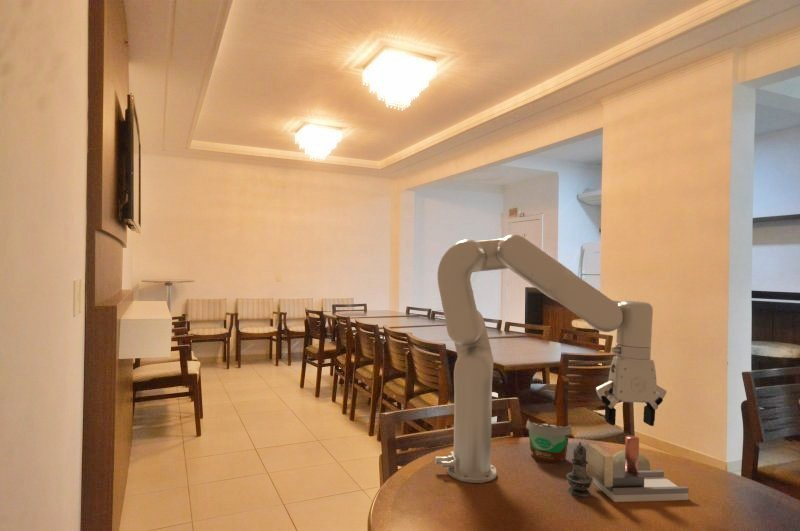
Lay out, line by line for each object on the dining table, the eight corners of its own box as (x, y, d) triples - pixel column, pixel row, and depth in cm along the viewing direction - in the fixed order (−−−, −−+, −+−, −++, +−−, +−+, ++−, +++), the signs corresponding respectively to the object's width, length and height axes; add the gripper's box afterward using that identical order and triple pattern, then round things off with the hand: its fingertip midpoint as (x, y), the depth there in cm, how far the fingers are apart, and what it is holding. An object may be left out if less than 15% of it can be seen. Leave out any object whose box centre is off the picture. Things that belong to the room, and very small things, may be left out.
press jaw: (604, 492, 111) (605, 444, 111) (587, 477, 119) (588, 432, 119) (647, 491, 112) (648, 443, 112) (627, 476, 120) (628, 431, 120)
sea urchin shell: (660, 470, 124) (638, 448, 124) (638, 492, 124) (616, 469, 124) (643, 456, 133) (622, 435, 133) (622, 476, 133) (601, 455, 133)
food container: (522, 460, 133) (523, 424, 133) (525, 453, 139) (526, 418, 139) (570, 468, 129) (570, 431, 129) (571, 460, 134) (571, 424, 134)
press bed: (614, 501, 111) (614, 490, 111) (592, 482, 120) (593, 471, 120) (688, 499, 112) (688, 488, 112) (661, 480, 122) (661, 470, 122)
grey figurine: (591, 489, 117) (592, 439, 117) (593, 500, 111) (594, 447, 111) (566, 485, 119) (566, 436, 119) (565, 495, 113) (566, 444, 113)
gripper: (606, 354, 112) (603, 428, 112) (677, 356, 113) (673, 429, 113) (590, 348, 119) (587, 418, 119) (657, 351, 121) (653, 419, 121)
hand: (629, 423), depth 116 cm, fingers open, 9 cm apart
